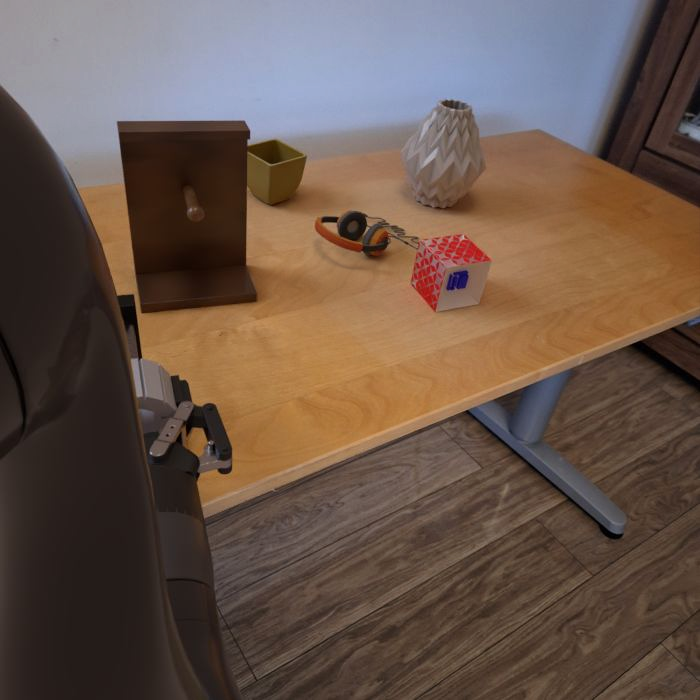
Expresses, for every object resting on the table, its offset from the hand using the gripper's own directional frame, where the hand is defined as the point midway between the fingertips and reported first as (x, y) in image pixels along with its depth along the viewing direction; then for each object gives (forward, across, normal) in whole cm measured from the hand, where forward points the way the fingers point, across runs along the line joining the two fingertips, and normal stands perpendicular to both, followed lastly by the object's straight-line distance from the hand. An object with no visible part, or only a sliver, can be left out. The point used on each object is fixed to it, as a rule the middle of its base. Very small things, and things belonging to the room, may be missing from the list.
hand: (132, 388), depth 54 cm
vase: (+57, -60, +14) cm, 84 cm away
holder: (+8, 0, +14) cm, 16 cm away
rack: (+35, -10, +14) cm, 38 cm away
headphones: (+43, -40, +14) cm, 60 cm away
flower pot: (+62, -28, +14) cm, 69 cm away
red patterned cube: (+26, -47, +14) cm, 56 cm away
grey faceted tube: (-2, 0, 0) cm, 2 cm away
